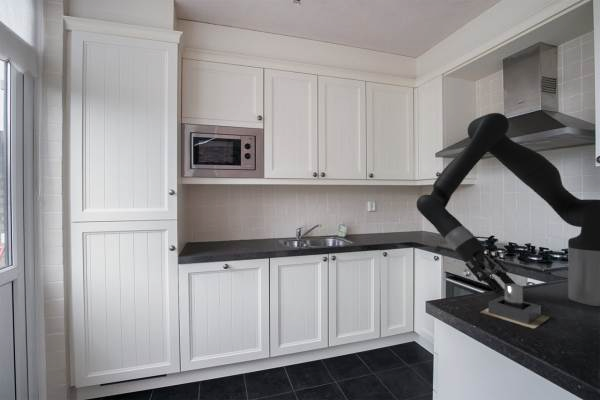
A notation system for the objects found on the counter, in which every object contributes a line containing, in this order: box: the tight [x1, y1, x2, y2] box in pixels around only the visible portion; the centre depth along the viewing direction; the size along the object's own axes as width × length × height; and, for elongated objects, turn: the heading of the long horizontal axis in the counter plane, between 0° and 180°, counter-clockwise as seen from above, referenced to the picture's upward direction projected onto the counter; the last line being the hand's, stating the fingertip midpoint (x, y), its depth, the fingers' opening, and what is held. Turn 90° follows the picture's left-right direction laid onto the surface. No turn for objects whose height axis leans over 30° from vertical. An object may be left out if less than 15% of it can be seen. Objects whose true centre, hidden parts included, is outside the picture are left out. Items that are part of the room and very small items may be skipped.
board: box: [480, 307, 550, 329], centre depth 75 cm, size 12×12×1 cm
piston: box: [504, 283, 524, 309], centre depth 75 cm, size 4×4×8 cm
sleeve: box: [487, 295, 542, 325], centre depth 75 cm, size 9×9×3 cm
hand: (507, 289), depth 76 cm, fingers open, 8 cm apart
